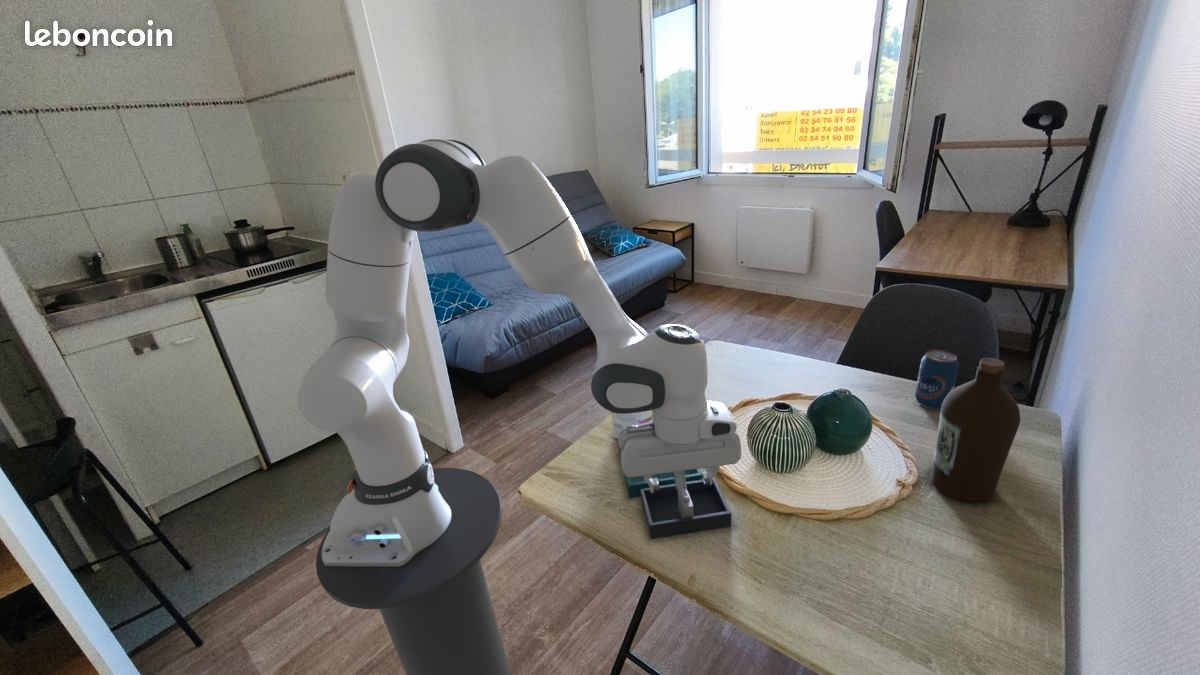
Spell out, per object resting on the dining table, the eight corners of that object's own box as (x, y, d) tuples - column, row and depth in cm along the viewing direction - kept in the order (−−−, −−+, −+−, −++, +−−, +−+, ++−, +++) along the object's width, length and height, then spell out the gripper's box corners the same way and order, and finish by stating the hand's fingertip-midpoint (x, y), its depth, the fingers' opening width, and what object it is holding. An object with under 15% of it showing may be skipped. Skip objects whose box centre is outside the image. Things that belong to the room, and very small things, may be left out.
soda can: (908, 403, 114) (917, 356, 110) (920, 391, 118) (929, 345, 113) (943, 414, 109) (953, 366, 105) (954, 401, 113) (965, 354, 108)
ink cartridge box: (656, 438, 112) (653, 380, 106) (643, 449, 108) (639, 390, 102) (625, 426, 117) (621, 370, 111) (612, 437, 114) (606, 380, 108)
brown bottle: (981, 467, 94) (1014, 347, 84) (1010, 508, 84) (1051, 379, 74) (917, 464, 96) (941, 347, 86) (939, 503, 87) (968, 377, 77)
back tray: (629, 498, 95) (628, 485, 94) (619, 455, 107) (618, 443, 106) (702, 487, 96) (702, 474, 95) (684, 446, 108) (684, 434, 107)
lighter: (693, 525, 87) (693, 489, 84) (684, 526, 87) (682, 490, 84) (683, 496, 94) (682, 462, 90) (674, 498, 93) (672, 463, 90)
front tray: (650, 539, 86) (649, 525, 85) (640, 501, 94) (639, 488, 93) (731, 527, 87) (731, 513, 85) (714, 490, 95) (714, 477, 94)
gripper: (619, 439, 79) (624, 507, 84) (746, 423, 80) (743, 491, 85) (614, 417, 84) (619, 482, 90) (733, 402, 86) (730, 467, 91)
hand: (680, 486), depth 88 cm, fingers open, 8 cm apart
